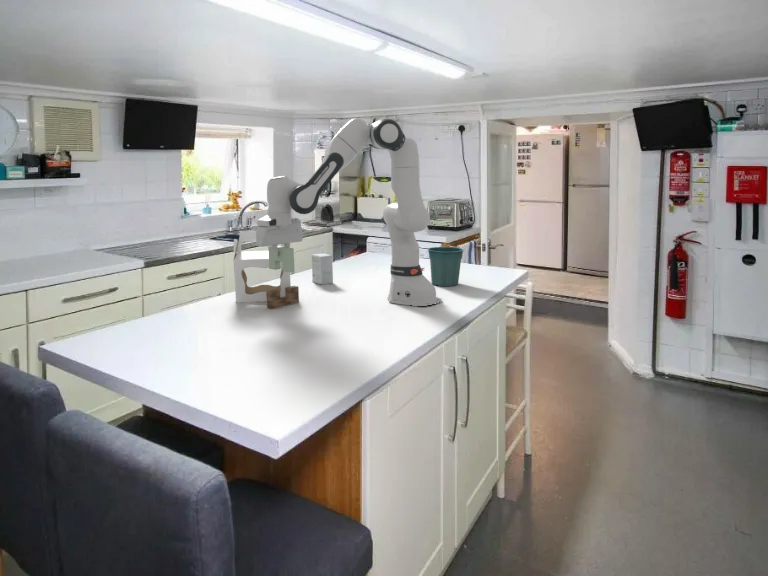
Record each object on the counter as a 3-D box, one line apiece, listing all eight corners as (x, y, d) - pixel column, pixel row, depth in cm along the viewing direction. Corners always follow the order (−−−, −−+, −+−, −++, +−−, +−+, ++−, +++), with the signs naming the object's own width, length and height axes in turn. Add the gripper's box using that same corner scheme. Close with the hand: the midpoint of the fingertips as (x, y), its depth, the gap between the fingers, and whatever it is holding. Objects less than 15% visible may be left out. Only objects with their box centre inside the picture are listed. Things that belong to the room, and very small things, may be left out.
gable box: (290, 292, 248) (288, 227, 242) (291, 300, 236) (289, 231, 230) (237, 295, 244) (233, 229, 238) (235, 303, 232) (231, 233, 226)
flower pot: (436, 278, 276) (437, 245, 272) (468, 282, 268) (469, 247, 264) (420, 285, 262) (421, 250, 259) (454, 289, 254) (455, 253, 250)
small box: (333, 283, 267) (332, 255, 265) (321, 284, 264) (320, 256, 261) (323, 280, 274) (322, 252, 271) (312, 282, 270) (311, 254, 267)
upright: (294, 301, 234) (294, 285, 232) (299, 302, 232) (298, 286, 231) (267, 308, 223) (266, 291, 222) (271, 309, 222) (270, 292, 220)
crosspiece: (294, 271, 222) (293, 248, 220) (289, 272, 220) (288, 248, 218) (274, 267, 229) (273, 245, 227) (269, 268, 227) (268, 245, 225)
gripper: (295, 217, 230) (296, 251, 233) (252, 221, 215) (254, 257, 218) (305, 218, 226) (306, 253, 229) (263, 222, 211) (265, 259, 214)
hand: (281, 255), depth 223 cm, fingers closed on crosspiece, 2 cm apart
